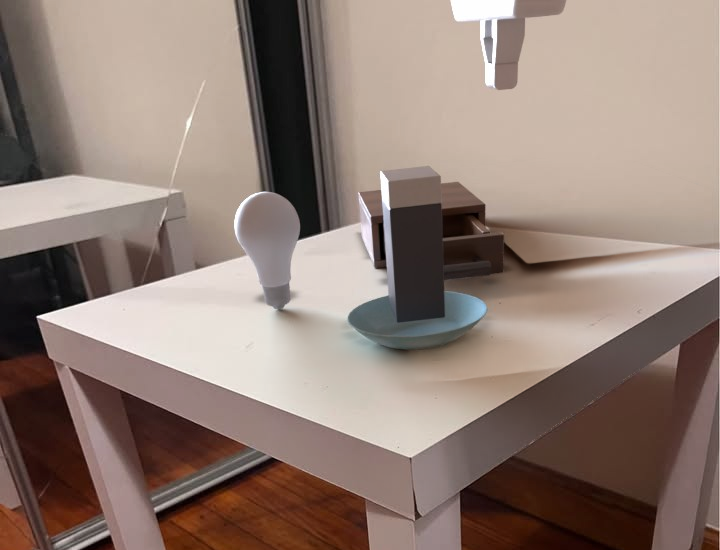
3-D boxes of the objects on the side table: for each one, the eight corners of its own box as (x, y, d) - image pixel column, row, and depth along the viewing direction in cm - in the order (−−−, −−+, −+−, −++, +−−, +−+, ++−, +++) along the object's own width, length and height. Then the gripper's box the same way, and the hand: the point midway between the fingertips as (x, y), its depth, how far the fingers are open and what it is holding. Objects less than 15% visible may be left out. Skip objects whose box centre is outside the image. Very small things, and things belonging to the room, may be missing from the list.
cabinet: (485, 255, 86) (485, 204, 83) (374, 268, 86) (370, 216, 83) (459, 227, 99) (458, 181, 96) (362, 238, 98) (358, 192, 95)
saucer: (321, 346, 66) (318, 320, 65) (407, 306, 73) (406, 282, 72) (431, 373, 59) (430, 345, 58) (514, 326, 66) (514, 300, 65)
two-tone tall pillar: (434, 299, 67) (429, 165, 61) (445, 317, 63) (440, 175, 57) (389, 304, 67) (379, 170, 61) (396, 323, 63) (387, 181, 57)
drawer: (513, 284, 73) (514, 243, 71) (396, 297, 73) (393, 257, 71) (473, 241, 88) (473, 207, 86) (375, 252, 88) (373, 218, 86)
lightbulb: (295, 320, 72) (278, 198, 67) (237, 318, 74) (217, 200, 69) (319, 299, 77) (305, 184, 72) (264, 298, 79) (247, 186, 74)
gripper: (605, -176, 44) (587, 93, 51) (511, -116, 61) (507, 78, 68) (496, -168, 44) (493, 102, 51) (433, -110, 61) (437, 84, 68)
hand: (501, 88), depth 60 cm, fingers closed
